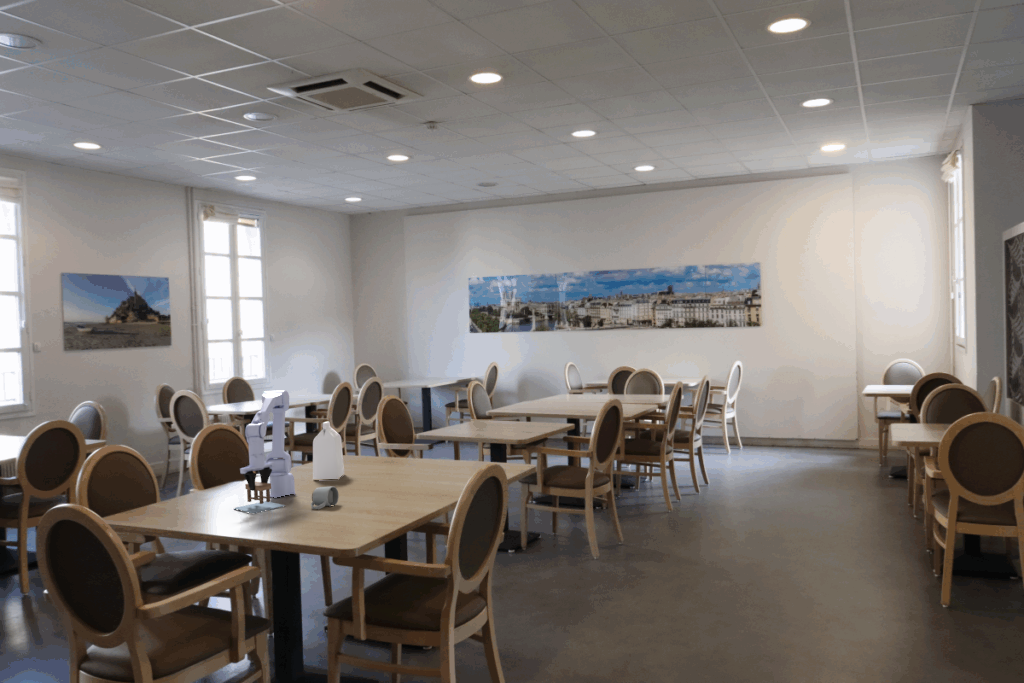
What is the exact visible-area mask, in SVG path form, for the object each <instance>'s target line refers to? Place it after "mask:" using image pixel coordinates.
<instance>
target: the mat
mask: <svg viewBox="0 0 1024 683" xmlns="http://www.w3.org/2000/svg"><path fill="white" fill-rule="evenodd" d="M263 502H264V503H263V504H260V502H256V503H251V504H247V505H242V506H237V507H234V508H235V509H238V510H242V511H245V512H249V513H255V514H257V513H256V512H260V513H262V512H261V511H264V512H266V511H265V510H269V511H271V510H270V509H273V510H275V509H274V508H278V507H282V508H284V507H283V506H285V507H286V505H285V504H281V503H276V502H272V501H270V502H266V500H263ZM278 509H279V508H278ZM245 512H244V513H245ZM249 513H248V514H249Z"/></svg>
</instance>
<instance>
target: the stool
mask: <svg viewBox="0 0 1024 683" xmlns="http://www.w3.org/2000/svg"><path fill="white" fill-rule="evenodd" d="M244 484H245V490H246V491H247V492H246V493H247V494H246V496H247V502H248V503H251V502H252V500H254V501H259V503H260V504H263V503H264V499H265V501H266V502H271V497H270V489H271V483H270V482H268V483H263V482H261V481H255V490H254V491H253V496H254V497H252V490H250V488H249V485H248V483H244ZM264 491H265V496H264Z"/></svg>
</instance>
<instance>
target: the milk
mask: <svg viewBox="0 0 1024 683" xmlns="http://www.w3.org/2000/svg"><path fill="white" fill-rule="evenodd" d="M342 443H343V442H342V436H341V435H340V433H338V432H337V431H336V429H334V428H333V427H332V426H331V422H330V421H324V422H322V429H321V430H320V431H319V432H318V433H317V435H316V436H315V437H314V439H313V441H312V480H313V479H338V478H339V477H341V476H342V475H343V474H344V475H345V466H344V455H343V444H342ZM344 475H343V476H344ZM343 476H342V477H343ZM342 477H341V478H342ZM339 479H340V478H339ZM339 479H338V480H339Z"/></svg>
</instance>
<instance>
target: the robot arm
mask: <svg viewBox="0 0 1024 683" xmlns="http://www.w3.org/2000/svg"><path fill="white" fill-rule="evenodd" d="M261 402H262V405H261V409H260V410H258V411H257V412H256V413H255V415H254V416H253V419H252V421H251V423H248V424H246V427H245V432H244V434H245V438H246V442H247V444H248V460H249V463H248V464H249V465H247V466H245V467H241V468H239V472H240V475H243V477H244V478H245V480H246V482H247V484H248V485H249V488H250V490H251V492H252V491H253V492H254V490H255V482H256V477H257V473H256V471H258V472H259V478H260V482H263V483H271V489H270V498H273V497H274V499H278V498H277V497H280V498H282V497H281V496H284V497H286V496H285V495H289V496H291V495H290V494H294V495H296V494H295V493H296V490H295V485H296V484H295V476H294V475H293V473H291V471H292V468H293V467H292V457H291V455H290V454H289V453H288V452H287V451H286V450H285V434H286V432H285V431H286V430H285V429H286V428H285V427H286V412H287V411H288V410H289V409H290V408H289V407H290V395H289V392H288V391H287V390H286V389H283V390H264V391H263V392H262V395H261ZM271 413H272V437H271V438H272V439H271V440H272V441H271V443H272V444H271V451H270V452H269V453H268V454H267V455H266V456H265V437H266V435H267V425H268V423H269V422H270V420H271V416H270V414H271ZM268 481H269V482H268Z"/></svg>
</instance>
